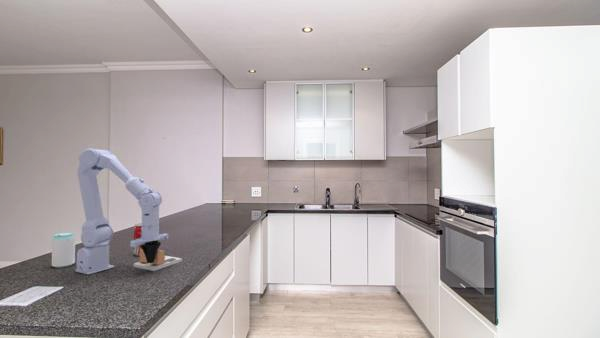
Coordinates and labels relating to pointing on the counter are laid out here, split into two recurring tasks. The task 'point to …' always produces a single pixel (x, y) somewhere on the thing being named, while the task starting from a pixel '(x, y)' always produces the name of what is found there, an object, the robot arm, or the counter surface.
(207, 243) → the counter surface
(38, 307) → the counter surface
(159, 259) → the tab near
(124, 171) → the robot arm
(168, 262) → the switch bank
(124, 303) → the counter surface
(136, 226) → the soda can
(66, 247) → the white lidded container
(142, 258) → the tab far
